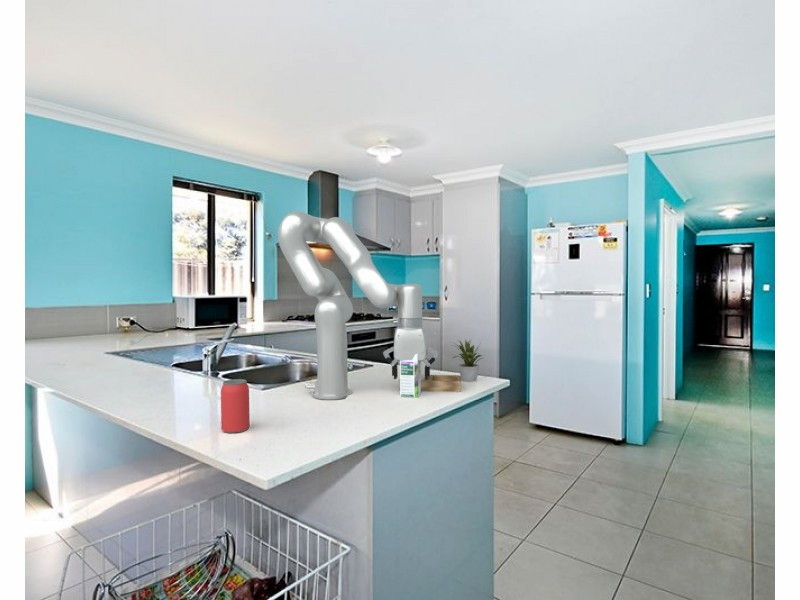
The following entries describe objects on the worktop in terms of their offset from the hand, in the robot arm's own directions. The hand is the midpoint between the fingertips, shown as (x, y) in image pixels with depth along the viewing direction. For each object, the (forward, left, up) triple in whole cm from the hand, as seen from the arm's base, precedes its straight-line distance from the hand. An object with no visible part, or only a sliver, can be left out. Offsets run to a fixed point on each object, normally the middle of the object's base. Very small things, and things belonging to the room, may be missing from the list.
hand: (411, 378), depth 147 cm
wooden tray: (+5, +12, -6) cm, 14 cm away
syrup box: (0, 0, -6) cm, 6 cm away
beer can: (-39, -37, -6) cm, 54 cm away
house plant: (+17, +25, -6) cm, 31 cm away
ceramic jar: (+1, +12, -5) cm, 13 cm away
